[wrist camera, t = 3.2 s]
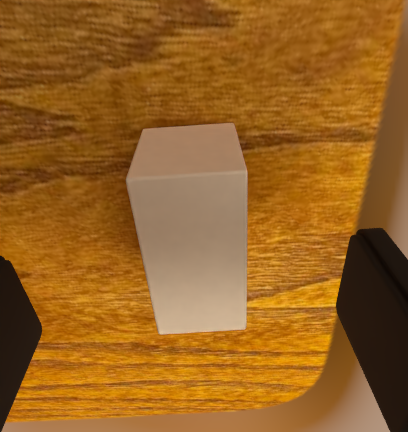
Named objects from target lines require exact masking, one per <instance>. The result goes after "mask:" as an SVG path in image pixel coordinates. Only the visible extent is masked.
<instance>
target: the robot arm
mask: <svg viewBox="0 0 408 432" xmlns="http://www.w3.org/2000/svg"><path fill="white" fill-rule="evenodd" d="M336 309H337V314H338V316H339V318H340V321H341V323H342V325H343V328H344V330H345V332H346V334H347V337H348V339H349V341H350V343H351V345H352V347H353V350H354V352H355V354H356V356H357V359H358V361H359V363H360V366H361V368H362V370H363V372H364V374H365V377H366V379H367V381H368V383H369V386H370V388H371V390H372V392H373V394H374V397H375V399H376V401H377V403H378V405H379V408H380V410H381V412H382V415H383V417H384V419H385V420H386V423H387V425H388V428H389V430H390V432H408V260H407V258H406V257H405V256H404V254H403V253H402V252H401V251H400V249H399V248H398V247H397V245H396V244H395V243H394V242H393V241H392V239H391V238H390V237H389V235H388V234H387V233H386V232H385V230H383V229H382V228H372V229H360V230H358V231H357V233H356V235H352V236H351V237H350V241H349V245H348V250H347V255H346V259H345V264H344V269H343V273H342V278H341V283H340V288H339V292H338V297H337V302H336ZM41 334H42V326H41V323H40V321H39V319H38V317H37V315H36V312H35V310H34V308H33V306H32V304H31V302H30V300H29V298H28V296H27V294H26V292H25V290H24V288H23V286H22V284H21V282H20V280H19V278H18V276H17V274H16V272H15V269H14V267H13V265H12V264H11V262H10V261H9V260H5V259H4V257H2V256H0V432H1V431H2V428H3V426H4V424H5V421H6V419H7V416H8V414H9V412H10V409H11V407H12V404H13V402H14V400H15V397H16V395H17V392H18V390H19V388H20V385H21V383H22V381H23V378H24V376H25V373H26V371H27V369H28V366H29V364H30V361H31V359H32V357H33V354H34V352H35V349H36V347H37V345H38V342H39V340H40V337H41Z"/></svg>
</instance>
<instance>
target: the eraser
mask: <svg viewBox="0 0 408 432" xmlns="http://www.w3.org/2000/svg"><path fill="white" fill-rule="evenodd" d="M126 184H127V189H128V194H129V198H130V203H131V208H132V212H133V217H134V222H135V226H136V231H137V236H138V241H139V245H140V250H141V255H142V259H143V264H144V269H145V273H146V278H147V283H148V287H149V292H150V297H151V301H152V306H153V311H154V315H155V320H156V325H157V330H158V333H159V334H176V333H193V332H210V331H226V330H243V329H246V315H247V193H248V172H247V168H246V165H245V161H244V157H243V154H242V150H241V146H240V143H239V139H238V136H237V132H236V128H235V125H234V123H221V124H206V125H192V126H177V127H163V128H149V129H143V130H142V133H141V136H140V139H139V142H138V145H137V148H136V151H135V154H134V157H133V160H132V163H131V166H130V169H129V172H128V175H127V177H126Z"/></svg>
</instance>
